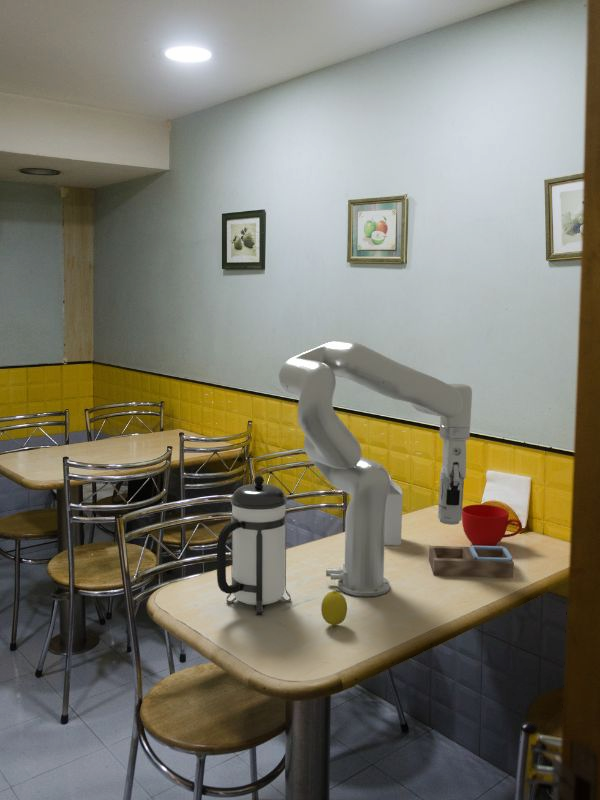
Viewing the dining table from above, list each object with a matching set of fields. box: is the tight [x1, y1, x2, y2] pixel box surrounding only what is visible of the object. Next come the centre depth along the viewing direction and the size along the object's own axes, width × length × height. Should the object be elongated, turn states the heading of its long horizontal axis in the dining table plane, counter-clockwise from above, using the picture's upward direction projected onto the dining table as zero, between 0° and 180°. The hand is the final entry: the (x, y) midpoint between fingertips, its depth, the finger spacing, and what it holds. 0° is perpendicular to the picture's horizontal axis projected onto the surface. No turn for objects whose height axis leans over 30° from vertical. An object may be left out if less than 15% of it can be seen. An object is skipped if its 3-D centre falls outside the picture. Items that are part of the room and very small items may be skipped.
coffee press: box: [216, 475, 292, 616], centre depth 167 cm, size 17×16×30 cm
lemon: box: [320, 590, 348, 627], centre depth 158 cm, size 6×6×8 cm
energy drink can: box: [437, 465, 465, 526], centre depth 190 cm, size 6×6×15 cm
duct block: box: [428, 545, 515, 579], centre depth 192 cm, size 20×11×5 cm, turn 87°
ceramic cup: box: [461, 504, 523, 546], centre depth 210 cm, size 13×17×10 cm
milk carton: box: [384, 474, 403, 547], centre depth 212 cm, size 7×7×19 cm
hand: (450, 500), depth 190 cm, fingers closed on energy drink can, 6 cm apart
